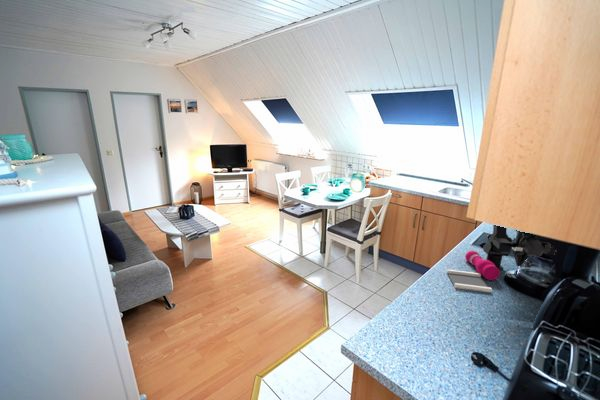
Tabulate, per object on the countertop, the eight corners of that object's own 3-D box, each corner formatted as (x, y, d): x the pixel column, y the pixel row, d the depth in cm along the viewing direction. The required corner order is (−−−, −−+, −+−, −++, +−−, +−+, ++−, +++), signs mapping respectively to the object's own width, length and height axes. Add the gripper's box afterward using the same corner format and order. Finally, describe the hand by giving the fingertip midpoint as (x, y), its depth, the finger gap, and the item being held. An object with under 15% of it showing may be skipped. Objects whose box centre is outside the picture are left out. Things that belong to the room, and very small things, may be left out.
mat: (446, 273, 122) (447, 269, 121) (479, 277, 119) (480, 273, 119) (454, 288, 111) (455, 284, 110) (491, 293, 108) (492, 289, 107)
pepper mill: (503, 266, 114) (477, 247, 133) (484, 264, 115) (462, 245, 134) (498, 282, 116) (474, 261, 135) (480, 279, 116) (459, 259, 136)
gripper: (510, 234, 99) (501, 273, 103) (572, 240, 95) (559, 280, 99) (496, 224, 109) (488, 259, 113) (551, 228, 105) (541, 265, 110)
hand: (518, 266), depth 109 cm, fingers closed
